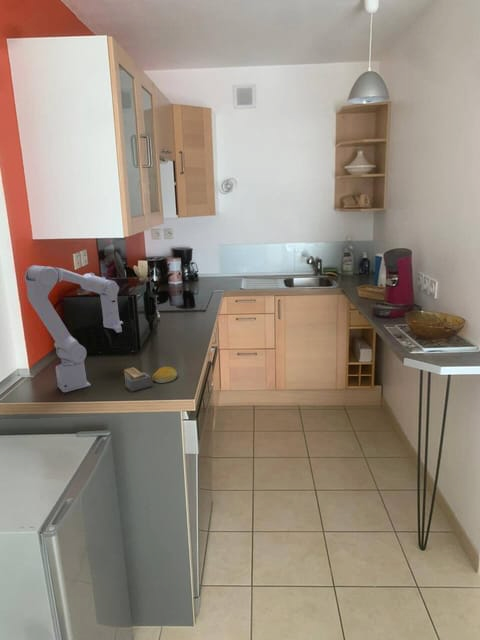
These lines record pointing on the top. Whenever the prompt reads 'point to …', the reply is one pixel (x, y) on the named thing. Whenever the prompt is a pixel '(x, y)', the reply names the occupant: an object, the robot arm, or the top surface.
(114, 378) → the top surface
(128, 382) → the end cap
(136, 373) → the brown wooden block
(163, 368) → the bread roll
